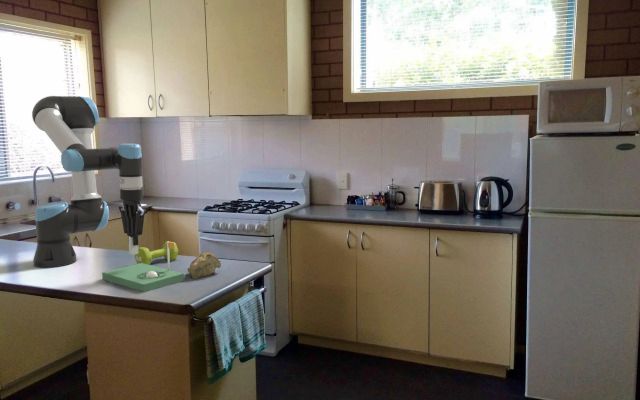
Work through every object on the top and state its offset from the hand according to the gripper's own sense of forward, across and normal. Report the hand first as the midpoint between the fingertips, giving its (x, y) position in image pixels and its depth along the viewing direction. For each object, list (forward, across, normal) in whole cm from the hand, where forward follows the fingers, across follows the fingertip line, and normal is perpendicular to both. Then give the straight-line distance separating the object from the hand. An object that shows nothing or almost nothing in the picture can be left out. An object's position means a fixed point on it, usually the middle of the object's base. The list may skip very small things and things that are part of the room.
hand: (133, 253), depth 194 cm
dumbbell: (+9, -9, +16) cm, 20 cm away
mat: (+8, +7, -2) cm, 11 cm away
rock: (+8, +18, +16) cm, 25 cm away
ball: (+6, +12, -2) cm, 14 cm away
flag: (+8, +14, +6) cm, 17 cm away
